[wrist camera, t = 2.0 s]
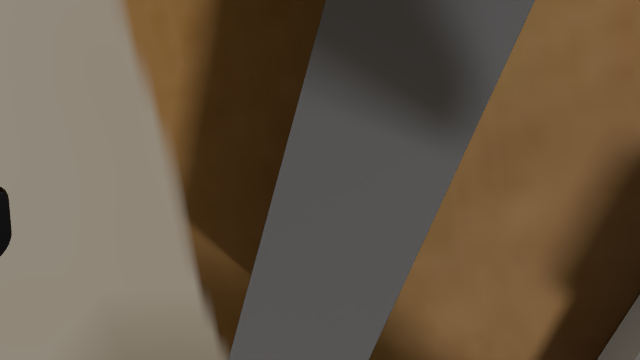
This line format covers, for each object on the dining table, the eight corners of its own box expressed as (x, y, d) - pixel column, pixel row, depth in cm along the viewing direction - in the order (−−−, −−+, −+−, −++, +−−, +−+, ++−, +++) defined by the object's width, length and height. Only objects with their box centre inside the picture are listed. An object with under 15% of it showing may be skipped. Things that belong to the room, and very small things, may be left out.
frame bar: (367, 325, 18) (333, 436, 15) (275, 287, 18) (220, 387, 15) (605, -216, 11) (646, -243, 7) (443, -265, 11) (410, -313, 8)
